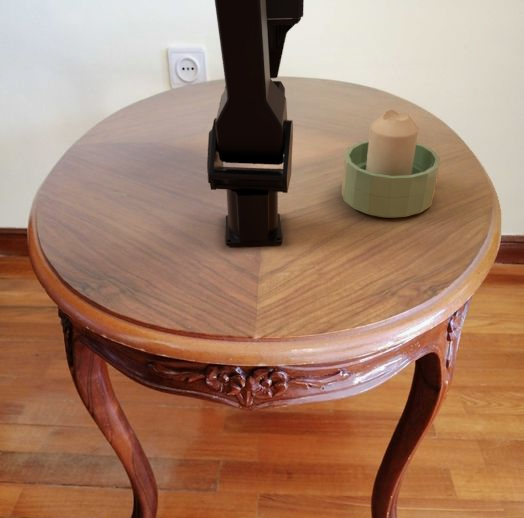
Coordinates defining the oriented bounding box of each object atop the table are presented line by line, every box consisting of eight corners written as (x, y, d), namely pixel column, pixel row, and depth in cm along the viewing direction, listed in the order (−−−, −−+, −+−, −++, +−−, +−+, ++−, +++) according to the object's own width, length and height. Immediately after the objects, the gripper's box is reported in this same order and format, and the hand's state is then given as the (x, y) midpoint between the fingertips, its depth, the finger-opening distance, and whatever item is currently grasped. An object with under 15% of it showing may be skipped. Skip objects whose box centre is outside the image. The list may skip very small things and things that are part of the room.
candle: (356, 188, 76) (364, 108, 69) (396, 182, 77) (407, 103, 70) (373, 208, 72) (383, 126, 65) (415, 201, 73) (428, 120, 66)
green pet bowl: (442, 219, 71) (451, 175, 67) (348, 222, 71) (352, 179, 67) (420, 177, 79) (426, 137, 75) (336, 180, 79) (339, 139, 75)
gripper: (357, -80, 57) (345, 88, 67) (332, -99, 71) (326, 43, 81) (241, -77, 57) (247, 92, 67) (239, -97, 71) (245, 46, 81)
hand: (270, 66), depth 74 cm, fingers open, 9 cm apart
